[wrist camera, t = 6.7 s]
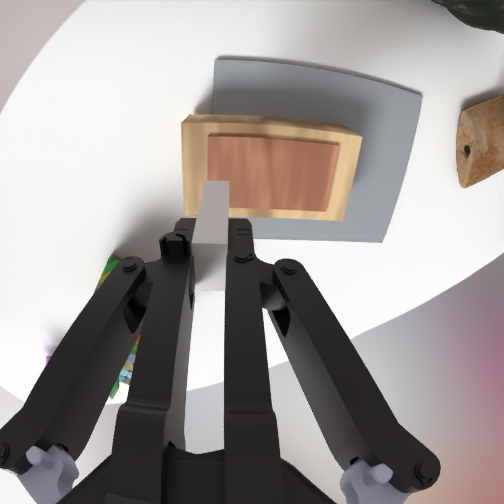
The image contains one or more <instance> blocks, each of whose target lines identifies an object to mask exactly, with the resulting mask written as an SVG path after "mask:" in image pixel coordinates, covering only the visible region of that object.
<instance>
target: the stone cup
mask: <svg viewBox="0 0 504 504" xmlns="http://www.w3.org/2000/svg"><path fill="white" fill-rule="evenodd" d="M456 145H457V150H456V161H457V172H458V177H459V183H460V185H461V187H462V188H467V187H469V186H471V185H474V184H476V183H478V182H480V181H482V180H484V179H486V178H488V177H490V176H491V175H493V174H495V173H497V172H499V171H501V170H502V169H504V95H501V96H497V97H495V98H492V99H490V100H487V101H484V102H482V103H479V104H477V105H474V106H472V107H469V108H467V109H465V110H464V111H462V114H461V118H460V122H459V126H458V132H457V140H456Z"/></svg>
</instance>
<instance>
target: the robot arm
mask: <svg viewBox="0 0 504 504" xmlns="http://www.w3.org/2000/svg"><path fill="white" fill-rule="evenodd" d="M229 187H230V181H205V184H204V188H203V192H202V196H201V201H200V205H199V210H198V214H197V218H181V219H180V220H179V221H178V222H177V223H176V225H175V228H174V231H173V232H171V233H168V234H165V235H164V236H162V237H161V238H160V240H159V244H160V250H161V259H159V260H157V261H154V262H149V263H144V261H143V260H142V259H141V258H139V257H134V256H131V257H126V258H124V259H122V260H121V261H119V262H118V263H117V265H116V266H115V267H114V268H113V270H112V271H111V272H110V273H109V275H108V276H107V277H106V279H105V280H104V281H103V283H102V284H101V285H100V287H99V288H98V289H97V291H96V292H95V293H94V295H93V296H92V297H91V299H90V300H89V301H88V303H87V304H86V306H85V307H84V308H83V310H82V311H81V313H80V314H79V316H78V317H77V318H76V320H75V321H74V323H73V324H72V326H71V327H70V329H69V330H68V332H67V333H66V335H65V336H64V338H63V339H62V341H61V342H60V344H59V345H58V347H57V349H56V350H55V352H54V353H53V355H52V357H51V358H50V360H49V362H48V363H47V365H46V366H45V368H44V370H43V372H42V373H41V375H40V377H39V378H38V380H37V382H36V384H35V385H34V387H33V389H32V391H31V393H30V394H29V396H28V398H27V400H26V402H25V404H24V406H23V408H22V409H21V410H20V411H19V412H18V413H17V414H15V415H14V416H13V417H12V419H10V420H9V422H7V423H6V424H5V425H4V426H3V427H2V428H1V429H0V468H2V469H4V470H6V471H8V472H10V473H13V474H15V475H16V476H17V477H18V479H19V480H20V482H21V483H22V484H23V486H24V487H25V489H26V490H27V491H28V493H29V494H30V495H31V497H32V498H33V499H34V501H35V502H36V503H37V504H337V503H335V502H334V501H333V500H332V499H330V498H329V497H328V496H327V495H326V494H324V493H323V492H322V491H321V490H320V489H319V488H317V487H316V486H315V485H314V484H313V483H312V482H311V481H310V480H308V479H307V478H306V477H305V476H304V475H303V474H302V473H301V472H300V471H298V470H297V469H296V468H295V467H294V466H293V465H291V464H290V463H289V462H287V461H285V460H284V459H282V458H281V457H280V448H279V438H278V429H277V420H276V416H275V412H274V411H273V409H272V402H271V392H270V382H269V372H268V362H267V352H266V342H265V332H264V322H263V312H262V308H265V309H267V310H268V314H269V316H270V318H271V321H272V323H273V325H274V327H275V330H276V332H277V334H278V336H279V339H280V341H281V343H282V345H283V347H284V350H285V352H286V354H287V356H288V359H289V361H290V363H291V365H292V368H293V370H294V372H295V374H296V376H297V379H298V381H299V383H300V385H301V388H302V390H303V392H304V394H305V396H306V399H307V401H308V403H309V405H310V407H311V410H312V412H313V414H314V416H315V418H316V421H317V423H318V425H319V427H320V429H321V432H322V434H323V436H324V438H325V440H326V442H327V444H328V447H329V449H330V451H331V452H332V454H333V456H334V458H335V460H336V461H337V462H338V463H339V465H340V466H341V468H342V469H343V470H344V471H345V472H344V474H343V475H342V478H341V480H340V487H341V490H342V492H343V493H344V495H345V497H346V501H347V504H403V502H404V501H405V500H406V498H408V496H409V495H410V494H412V493H414V492H418V491H421V490H424V489H427V488H429V487H431V486H432V485H433V484H434V483H435V482H436V481H437V479H438V477H439V474H440V469H441V466H440V462H439V460H438V458H437V457H436V455H434V454H433V453H432V452H431V451H430V450H429V449H428V448H426V447H425V446H424V445H423V444H422V443H420V441H418V440H417V439H416V438H415V437H414V436H413V435H411V434H410V433H409V432H408V431H406V429H404V428H403V427H402V426H401V425H400V424H399V423H398V421H397V420H396V418H395V416H394V415H393V413H392V411H391V409H390V407H389V405H388V404H387V402H386V400H385V399H384V397H383V395H382V394H381V391H380V390H379V388H378V387H377V385H376V383H375V381H374V379H373V378H372V376H371V374H370V373H369V371H368V369H367V368H366V366H365V364H364V363H363V361H362V359H361V358H360V356H359V354H358V353H357V351H356V349H355V348H354V346H353V344H352V343H351V341H350V339H349V338H348V336H347V334H346V333H345V331H344V330H343V328H342V326H341V325H340V323H339V321H338V320H337V318H336V317H335V315H334V313H333V312H332V310H331V309H330V307H329V305H328V304H327V302H326V301H325V299H324V298H323V296H322V294H321V293H320V291H319V290H318V288H317V287H316V285H315V283H314V282H313V280H312V279H311V277H310V276H309V274H308V273H307V271H306V270H305V268H304V266H303V265H302V264H301V263H300V262H298V261H296V260H293V259H281V260H278V261H277V262H275V264H274V265H273V264H269V263H265V262H263V261H261V260H260V259H258V258H257V257H256V254H255V252H254V243H253V233H252V224H251V222H250V221H249V220H248V219H247V218H229ZM194 288H195V289H196V290H210V291H225V332H224V449H222V450H218V451H213V452H208V453H202V454H193V453H190V452H187V451H185V436H184V419H185V402H186V388H187V374H188V362H189V351H190V340H191V330H192V321H193V311H194V303H195V294H194ZM139 336H140V338H139V342H138V346H137V351H136V356H135V360H134V365H133V370H132V375H131V380H130V386H129V391H128V397H127V401H126V402H125V403H124V404H123V405H121V406H120V408H119V410H118V414H117V418H116V425H115V431H114V439H113V446H112V454H111V455H110V456H109V457H107V458H106V459H105V460H104V461H103V462H102V463H101V464H100V465H99V466H98V467H97V468H95V469H94V470H93V471H92V472H91V473H90V474H89V475H88V476H87V477H85V478H84V479H83V480H82V481H81V482H80V483H79V484H78V485H76V486H75V487H74V488H73V489H72V485H73V482H74V480H75V479H77V478H78V476H79V471H78V469H77V467H76V464H75V461H76V460H77V458H78V457H79V456H80V454H81V453H82V451H83V450H84V448H85V447H86V445H87V442H88V441H89V438H90V436H91V434H92V432H93V430H94V427H95V425H96V423H97V421H98V418H99V416H100V414H101V412H102V410H103V408H104V405H105V403H106V401H107V399H108V397H109V395H110V393H111V391H112V389H113V387H114V385H115V382H116V380H117V378H118V376H119V374H120V372H121V370H122V368H123V366H124V364H125V362H126V360H127V359H128V357H129V355H130V353H131V351H132V349H133V347H134V345H135V343H136V341H137V339H138V337H139Z"/></svg>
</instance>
